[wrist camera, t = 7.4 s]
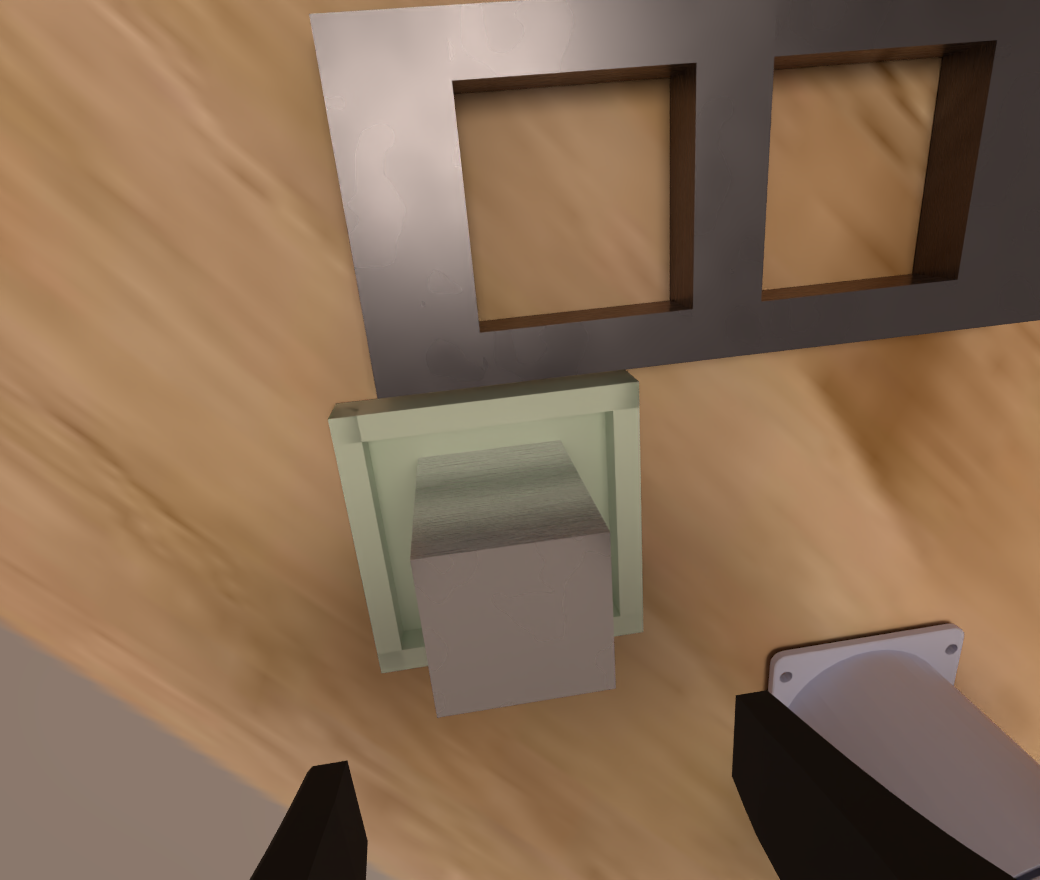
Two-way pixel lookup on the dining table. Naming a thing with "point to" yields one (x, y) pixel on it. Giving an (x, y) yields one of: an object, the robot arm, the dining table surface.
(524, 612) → the grey rectangular block
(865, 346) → the dining table surface
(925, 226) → the dark grey flat frame
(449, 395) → the tray
